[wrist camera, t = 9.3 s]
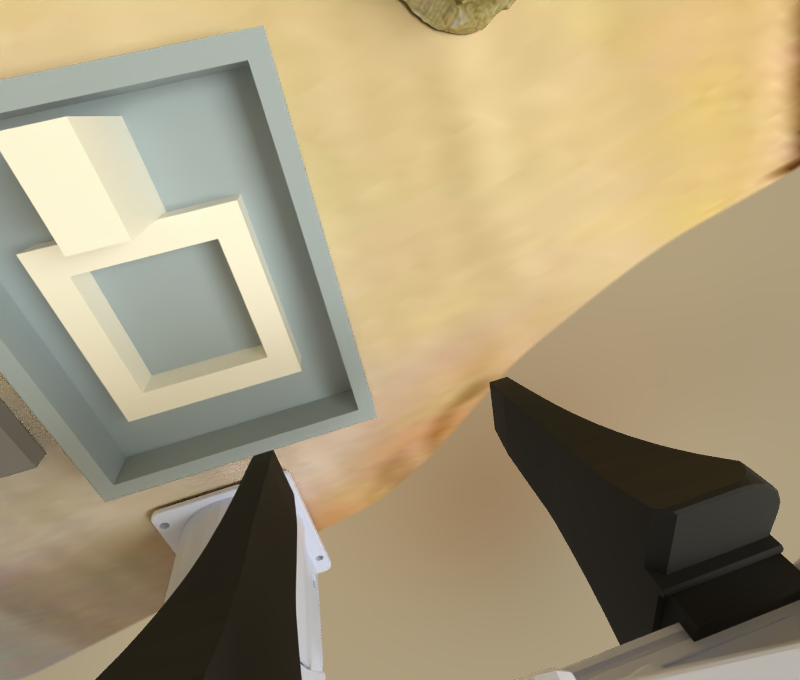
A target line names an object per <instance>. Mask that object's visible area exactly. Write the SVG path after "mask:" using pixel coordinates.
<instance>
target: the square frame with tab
mask: <svg viewBox="0 0 800 680" xmlns="http://www.w3.org/2000/svg"><path fill="white" fill-rule="evenodd" d="M0 152H1V153H2V155H3V157H4V158H5V160H6V162H7V163H8V165H9V166H10V168H11V170H12V171H13V173H14V175H15V176H16V178H17V179H18V181H19V183H20V184H21V186H22V188H23V189H24V191H25V192H26V194H27V196H28V197H29V199H30V201H31V202H32V204H33V205H34V207H35V209H36V210H37V212H38V214H39V215H40V217H41V218H42V220H43V222H44V223H45V225H46V227H47V228H48V230H49V231H50V233H51V235H52V236H53V238H54V240H51V241H47V242H43V243H39V244H36V245H34V246H32V247H30V248H28V249H26V250H24V251H22V252H20V253H18V254H17V257H18V258H19V260H20V261H21V263H22V264H23V266H24V267H25V269H26V270H27V272H28V273H29V275H30V276H31V278H32V279H33V281H34V282H35V284H36V285H37V287H38V288H39V290H40V291H41V293H42V294H43V296H44V297H45V299H46V300H47V301H48V303H49V304H50V306H51V307H52V309H53V310H54V312H55V313H56V315H57V316H58V318H59V319H60V321H61V322H62V324H63V325H64V327H65V328H66V330H67V331H68V333H69V334H70V336H71V337H72V339H73V340H74V342H75V343H76V345H77V346H78V348H79V349H80V350H81V352H82V353H83V355H84V356H85V358H86V359H87V361H88V362H89V364H90V365H91V367H92V368H93V370H94V371H95V373H96V374H97V376H98V377H99V379H100V380H101V382H102V383H103V385H104V386H105V388H106V389H107V391H108V392H109V394H110V395H111V397H112V398H113V399H114V401H115V402H116V404H117V405H118V407H119V408H120V410H121V411H122V413H123V414H124V416H125V417H126V419H127V420H128V422H130V421H134V420H137V419H140V418H144V417H147V416H151V415H154V414H157V413H161V412H164V411H168V410H171V409H174V408H178V407H181V406H185V405H188V404H191V403H195V402H198V401H202V400H205V399H209V398H212V397H215V396H219V395H222V394H226V393H229V392H232V391H236V390H239V389H243V388H246V387H249V386H253V385H256V384H260V383H263V382H266V381H270V380H273V379H277V378H280V377H283V376H287V375H290V374H294V373H297V372H300V371H302V368H301V355H300V352H299V350H298V347H297V344H296V341H295V339H294V336H293V333H292V331H291V328H290V325H289V323H288V320H287V317H286V315H285V312H284V309H283V307H282V304H281V301H280V299H279V296H278V293H277V290H276V288H275V285H274V282H273V280H272V277H271V274H270V272H269V269H268V266H267V264H266V261H265V258H264V256H263V253H262V250H261V247H260V245H259V242H258V239H257V237H256V234H255V231H254V229H253V226H252V223H251V221H250V218H249V215H248V213H247V210H246V207H245V204H244V202H243V199H242V196H241V194H238V195H234V196H230V197H226V198H222V199H218V200H214V201H210V202H205V203H201V204H197V205H193V206H189V207H185V208H181V209H177V210H173V211H169V212H166V210H165V208H164V206H163V204H162V201H161V199H160V197H159V195H158V193H157V191H156V188H155V186H154V184H153V182H152V180H151V178H150V176H149V173H148V171H147V169H146V167H145V165H144V163H143V161H142V158H141V156H140V154H139V152H138V150H137V148H136V146H135V143H134V141H133V139H132V137H131V135H130V133H129V131H128V128H127V126H126V124H125V122H124V120H123V118H122V116H66V117H61V118H57V119H52V120H48V121H43V122H38V123H34V124H29V125H25V126H20V127H15V128H11V129H6V130H2V131H0ZM215 239H218V240H219V242H220V245H221V247H222V249H223V252H224V254H225V256H226V259H227V261H228V264H229V266H230V268H231V271H232V273H233V276H234V278H235V280H236V283H237V285H238V287H239V290H240V292H241V295H242V297H243V299H244V302H245V304H246V307H247V309H248V311H249V314H250V316H251V319H252V321H253V323H254V326H255V328H256V330H257V333H258V335H259V338H260V340H261V342H262V344H261V345H258V346H254V347H251V348H247V349H243V350H240V351H236V352H233V353H229V354H226V355H222V356H219V357H215V358H212V359H208V360H205V361H201V362H198V363H194V364H191V365H187V366H184V367H180V368H177V369H173V370H170V371H166V372H163V373H159V374H156V375H151V373H150V372H149V370H148V368H147V367H146V365H145V363H144V362H143V360H142V358H141V357H140V355H139V353H138V352H137V350H136V348H135V346H134V345H133V343H132V341H131V340H130V338H129V336H128V335H127V333H126V331H125V330H124V328H123V326H122V325H121V323H120V321H119V320H118V318H117V316H116V315H115V313H114V311H113V310H112V308H111V306H110V305H109V303H108V301H107V299H106V298H105V296H104V294H103V293H102V291H101V289H100V288H99V286H98V284H97V283H96V281H95V279H94V278H93V276H92V274H91V273H90V271H94V270H97V269H101V268H105V267H109V266H113V265H117V264H121V263H125V262H129V261H133V260H137V259H141V258H144V257H148V256H152V255H156V254H160V253H164V252H168V251H172V250H176V249H180V248H184V247H187V246H191V245H195V244H199V243H203V242H207V241H211V240H215Z"/></svg>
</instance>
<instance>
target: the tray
mask: <svg viewBox="0 0 800 680" xmlns="http://www.w3.org/2000/svg"><path fill="white" fill-rule="evenodd" d="M66 116H122V118H123V120H124V122H125V124H126V126H127V128H128V131H129V133H130V135H131V137H132V139H133V141H134V143H135V146H136V148H137V150H138V152H139V154H140V156H141V158H142V161H143V163H144V165H145V167H146V169H147V171H148V173H149V176H150V178H151V180H152V182H153V184H154V186H155V188H156V191H157V193H158V195H159V197H160V199H161V201H162V204H163V206H164V208H165V210H166V212H169V211H173V210H177V209H181V208H185V207H189V206H193V205H197V204H201V203H205V202H210V201H214V200H218V199H222V198H226V197H230V196H234V195H238V194H241V196H242V199H243V202H244V204H245V207H246V210H247V213H248V215H249V218H250V221H251V223H252V226H253V229H254V231H255V234H256V237H257V239H258V242H259V245H260V247H261V250H262V253H263V256H264V258H265V261H266V264H267V266H268V269H269V272H270V274H271V277H272V280H273V282H274V285H275V288H276V290H277V293H278V296H279V299H280V301H281V304H282V307H283V309H284V312H285V315H286V317H287V320H288V323H289V325H290V328H291V331H292V333H293V336H294V339H295V341H296V344H297V347H298V350H299V352H300V355H301V368H302V371H300V372H297V373H294V374H290V375H287V376H283V377H280V378H277V379H273V380H270V381H266V382H263V383H260V384H256V385H253V386H249V387H246V388H243V389H239V390H236V391H232V392H229V393H226V394H222V395H219V396H215V397H212V398H209V399H205V400H202V401H198V402H195V403H191V404H188V405H185V406H181V407H178V408H174V409H171V410H168V411H164V412H161V413H157V414H154V415H151V416H147V417H144V418H140V419H137V420H134V421H130V422H128V420H127V419H126V417H125V416H124V414H123V413H122V411H121V410H120V408H119V407H118V405H117V404H116V402H115V401H114V399H113V398H112V397H111V395H110V394H109V392H108V391H107V389H106V388H105V386H104V385H103V383H102V382H101V380H100V379H99V377H98V376H97V374H96V373H95V371H94V370H93V368H92V367H91V365H90V364H89V362H88V361H87V359H86V358H85V356H84V355H83V353H82V352H81V350H80V349H79V348H78V346H77V345H76V343H75V342H74V340H73V339H72V337H71V336H70V334H69V333H68V331H67V330H66V328H65V327H64V325H63V324H62V322H61V321H60V319H59V318H58V316H57V315H56V313H55V312H54V310H53V309H52V307H51V306H50V304H49V303H48V301H47V300H46V299H45V297H44V296H43V294H42V293H41V291H40V290H39V288H38V287H37V285H36V284H35V282H34V281H33V279H32V278H31V276H30V275H29V273H28V272H27V270H26V269H25V267H24V266H23V264H22V263H21V261H20V260H19V258H18V257H17V254H18V253H20V252H22V251H24V250H26V249H28V248H30V247H32V246H34V245H36V244H39V243H43V242H47V241H51V240H54V238H53V236H52V235H51V233H50V231H49V230H48V228H47V227H46V225H45V223H44V222H43V220H42V218H41V217H40V215H39V214H38V212H37V210H36V209H35V207H34V205H33V204H32V202H31V201H30V199H29V197H28V196H27V194H26V192H25V191H24V189H23V188H22V186H21V184H20V183H19V181H18V179H17V178H16V176H15V175H14V173H13V171H12V170H11V168H10V166H9V165H8V163H7V162H6V160H5V158H4V157H3V155H2V153H1V152H0V373H1V374H2V375H3V376H4V377H5V379H6V380H7V381H8V382H9V384H10V385H11V386H12V387H13V389H14V390H15V391H16V392H17V394H18V395H19V396H20V397H21V398H22V400H23V401H24V402H25V403H26V405H27V406H28V407H29V408H30V410H31V411H32V412H33V413H34V415H35V416H36V417H37V418H38V420H39V421H40V422H41V423H42V424H43V426H44V427H45V428H46V429H47V431H48V432H49V433H50V434H51V436H52V437H53V438H54V439H55V441H56V442H57V443H58V444H59V445H60V447H61V448H62V449H63V450H64V452H65V453H66V454H67V455H68V457H69V458H70V459H71V460H72V462H73V463H74V464H75V465H76V467H77V468H78V469H79V470H80V471H81V473H82V474H83V475H84V476H85V478H86V479H87V480H88V481H89V483H90V484H91V485H92V486H93V488H94V489H95V490H96V491H97V492H98V494H99V495H100V496H101V497H102V499H103V500H104V501H105V502H107V501H110V500H113V499H116V498H120V497H123V496H126V495H129V494H132V493H136V492H139V491H142V490H145V489H148V488H152V487H155V486H158V485H161V484H165V483H168V482H171V481H174V480H177V479H181V478H184V477H187V476H190V475H193V474H197V473H200V472H203V471H206V470H210V469H213V468H216V467H219V466H222V465H226V464H229V463H232V462H235V461H238V460H242V459H245V458H248V457H251V456H255V455H258V454H261V453H264V452H267V451H271V450H274V449H277V448H280V447H283V446H287V445H290V444H293V443H296V442H300V441H303V440H306V439H309V438H312V437H316V436H319V435H322V434H325V433H328V432H332V431H335V430H338V429H341V428H345V427H348V426H351V425H354V424H357V423H361V422H364V421H367V420H370V419H373V418H377V414H376V411H375V407H374V404H373V400H372V397H371V394H370V390H369V387H368V383H367V380H366V376H365V373H364V370H363V366H362V363H361V359H360V356H359V352H358V349H357V345H356V342H355V339H354V335H353V332H352V328H351V325H350V321H349V318H348V315H347V311H346V308H345V304H344V301H343V297H342V294H341V290H340V287H339V284H338V280H337V277H336V273H335V270H334V266H333V263H332V260H331V256H330V253H329V249H328V246H327V242H326V239H325V235H324V232H323V229H322V225H321V222H320V218H319V215H318V211H317V208H316V205H315V201H314V198H313V194H312V191H311V187H310V184H309V180H308V177H307V174H306V170H305V167H304V163H303V160H302V156H301V153H300V150H299V146H298V143H297V139H296V136H295V132H294V129H293V125H292V122H291V119H290V115H289V112H288V108H287V105H286V101H285V98H284V95H283V91H282V88H281V84H280V81H279V77H278V74H277V70H276V67H275V64H274V60H273V57H272V53H271V50H270V46H269V43H268V40H267V36H266V33H265V29H264V26H259V27H255V28H250V29H245V30H240V31H235V32H230V33H225V34H221V35H216V36H211V37H206V38H201V39H196V40H192V41H187V42H182V43H177V44H172V45H167V46H162V47H158V48H153V49H148V50H143V51H138V52H133V53H129V54H124V55H119V56H114V57H109V58H104V59H100V60H95V61H90V62H85V63H80V64H75V65H70V66H66V67H61V68H56V69H51V70H46V71H41V72H37V73H32V74H27V75H22V76H17V77H12V78H7V79H3V80H0V131H2V130H6V129H11V128H15V127H20V126H25V125H29V124H34V123H38V122H43V121H48V120H52V119H57V118H61V117H66ZM90 273H91V274H92V276H93V278H94V279H95V281H96V283H97V284H98V286H99V288H100V289H101V291H102V293H103V294H104V296H105V298H106V299H107V301H108V303H109V305H110V306H111V308H112V310H113V311H114V313H115V315H116V316H117V318H118V320H119V321H120V323H121V325H122V326H123V328H124V330H125V331H126V333H127V335H128V336H129V338H130V340H131V341H132V343H133V345H134V346H135V348H136V350H137V352H138V353H139V355H140V357H141V358H142V360H143V362H144V363H145V365H146V367H147V368H148V370H149V372H150V373H151V375H156V374H159V373H163V372H166V371H170V370H173V369H177V368H180V367H184V366H187V365H191V364H194V363H198V362H201V361H205V360H208V359H212V358H215V357H219V356H222V355H226V354H229V353H233V352H236V351H240V350H243V349H247V348H251V347H254V346H258V345H261V344H262V342H261V340H260V338H259V335H258V333H257V330H256V328H255V326H254V323H253V321H252V319H251V316H250V314H249V311H248V309H247V307H246V304H245V302H244V299H243V297H242V295H241V292H240V290H239V287H238V285H237V283H236V280H235V278H234V276H233V273H232V271H231V268H230V266H229V264H228V261H227V259H226V256H225V254H224V252H223V249H222V247H221V245H220V242H219V240H218V239H215V240H211V241H207V242H203V243H199V244H195V245H191V246H187V247H184V248H180V249H176V250H172V251H168V252H164V253H160V254H156V255H152V256H148V257H144V258H141V259H137V260H133V261H129V262H125V263H121V264H117V265H113V266H109V267H105V268H101V269H97V270H94V271H90Z"/></svg>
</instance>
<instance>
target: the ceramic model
mask: <svg viewBox="0 0 800 680" xmlns="http://www.w3.org/2000/svg"><path fill="white" fill-rule="evenodd" d="M403 1H405V2H406V3H407V4H408V6H409V7H410V9H411V10H412V11H413V13H415V14H416V15H418V16H419V17H420V18H421V19H422V20H423V22H426V23H428V24H429V25H431V26H432V27H434V28H435V29H437V30H443V31H445V32H448V31H449V32H451V33H455V34H470V33H473V32H476V31H479V30H482V29H484V28H485V27H486V26H487V25H488V24H489V23H490V21H491V20H492V19H493V17H494V16H495V15H496V14H498V13H499V12H500V11H501V10H506V9H509V8H510V7H511V6H512V4H513V3H514V2H515V0H403Z"/></svg>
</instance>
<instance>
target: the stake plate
mask: <svg viewBox="0 0 800 680" xmlns="http://www.w3.org/2000/svg"><path fill="white" fill-rule="evenodd" d="M45 454H46V453H45V451H44V450H43V449H42V448H41V447H40V445H39V444H38V443H37V442H36V441H35V439H34V438H33V437H32V436H31V435H30V433H29V432H28V431H27V430H26V429H25V428H24V426H23V425H22V424H21V423H20V422H19V420H18V419H17V418H16V417H15V416H14V414H13V413H12V412H11V411H10V410H9V408H8V407H7V406H6V405H5V404H4V403H3V401H2V400H1V399H0V478H2V477H5V476H9V475H12V474H15V473H19V472H22V471H26V470H29V469H32V468H36V467H37V465H38V464H39V462H40V461H41V460H42V458H43V457H44V455H45Z"/></svg>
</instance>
